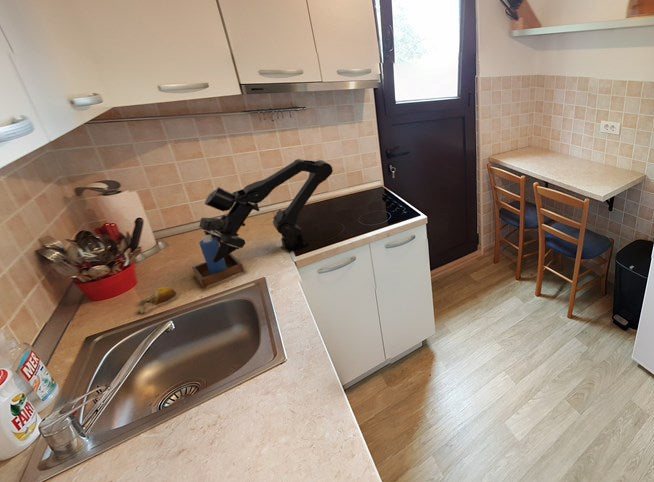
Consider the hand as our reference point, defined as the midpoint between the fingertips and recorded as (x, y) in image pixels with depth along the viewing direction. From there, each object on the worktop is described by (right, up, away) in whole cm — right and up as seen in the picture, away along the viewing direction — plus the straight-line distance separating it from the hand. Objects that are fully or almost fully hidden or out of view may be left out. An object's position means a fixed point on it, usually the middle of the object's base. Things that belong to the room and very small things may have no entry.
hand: (208, 257), depth 112 cm
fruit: (-9, -12, -9) cm, 18 cm away
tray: (+1, -7, +4) cm, 8 cm away
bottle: (+1, -6, +3) cm, 7 cm away
